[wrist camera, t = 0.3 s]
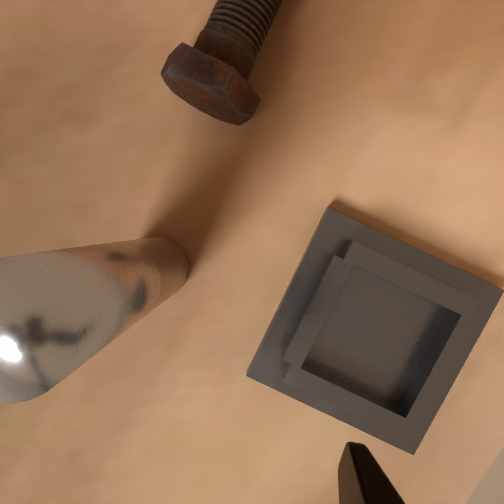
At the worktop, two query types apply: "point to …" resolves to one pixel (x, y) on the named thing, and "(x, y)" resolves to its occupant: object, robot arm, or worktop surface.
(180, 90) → the bolt
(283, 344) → the block
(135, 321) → the shiny tapered metal piece
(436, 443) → the worktop surface
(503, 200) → the worktop surface
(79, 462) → the worktop surface
